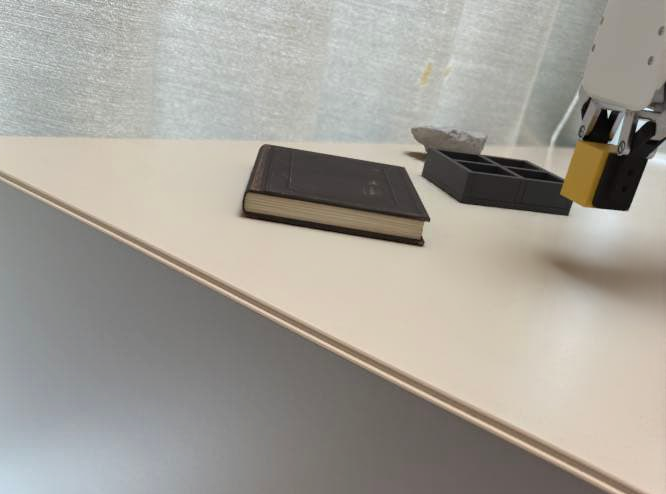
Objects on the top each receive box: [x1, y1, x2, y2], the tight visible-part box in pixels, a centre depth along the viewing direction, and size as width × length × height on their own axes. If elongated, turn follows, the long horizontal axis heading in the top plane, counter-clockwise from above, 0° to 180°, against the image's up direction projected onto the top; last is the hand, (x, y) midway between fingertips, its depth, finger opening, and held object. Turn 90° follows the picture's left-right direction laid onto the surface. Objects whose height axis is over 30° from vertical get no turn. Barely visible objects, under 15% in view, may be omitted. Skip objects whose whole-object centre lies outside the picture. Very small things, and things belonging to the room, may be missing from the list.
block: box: [560, 140, 646, 212], centre depth 65 cm, size 4×4×4 cm
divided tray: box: [421, 147, 574, 216], centre depth 91 cm, size 13×13×3 cm
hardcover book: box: [241, 143, 431, 246], centre depth 76 cm, size 16×23×2 cm
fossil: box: [410, 125, 488, 155], centre depth 106 cm, size 9×6×10 cm
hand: (595, 198), depth 66 cm, fingers closed on block, 4 cm apart
